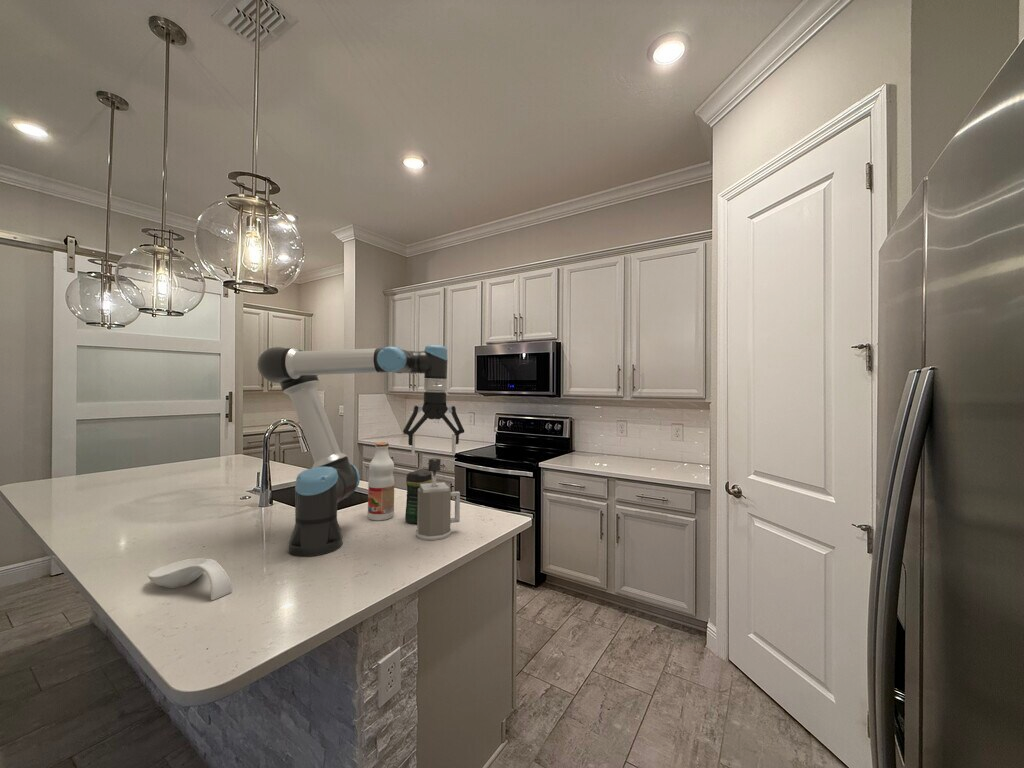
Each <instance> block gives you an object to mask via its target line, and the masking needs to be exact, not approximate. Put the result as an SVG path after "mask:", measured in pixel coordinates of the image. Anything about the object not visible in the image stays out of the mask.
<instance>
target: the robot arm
mask: <svg viewBox="0 0 1024 768" xmlns="http://www.w3.org/2000/svg"><path fill="white" fill-rule="evenodd" d="M448 362H449V361H448V349H447V347H446V346H444V345H437V344H434V345H433V344H432V345H430V344H429V345H426V346H425V347H424V350H422V351H415V350H406V349H402V348H399V347H397V346H386V347H379V348H377V347H375V348H349V349H345V348H344V349H325V350H321V349H320V350H302V349H298V348H295V347H291V348H290V347H289V348H287V347H282V346H274V347H273V346H272V347H271V348H268V349H265V350H264V351H263V352H262V353H261V354H260V355H259V357H258V359H257V369H258V372H259V374H260V375H261V377H262V378H264V380H266V381H268V382H271V383H275V384H279V385H280V388H281V390H282V392H283V394H285V395H287V396H289V398H290V400H291V402H292V406H293V408H294V410H295V411H294V412H295V413H296V417H297V418H298V422H299V425H300V427H301V429H302V432H303V435H304V437H305V440H306V442H307V445H308V448H309V451H310V453H311V456H312V459H313V462H314V463H313V465H312V467H311V468H307V469H305V470H303V471H301V472H300V473H298V474H297V476H296V478H295V484H294V485H295V486H294V491H295V507H294V508H295V516H294V517H295V518H294V521H295V523H294V526H293V529H292V532H291V535H290V538H289V541H288V543H287V545H288V547H287V548H288V550H287V551H288V553H289V554H291V555H293V556H297V557H313V556H320V555H325V554H328V553H331V552H334V551H336V550H338V549H339V548H341V547H342V545H343V538H344V537H343V532H342V530H341V528H340V524H339V521H338V503H340V502H341V501H343V500H344V499H347V498H349V497H350V496H352V494H353V493H354V492H355V491H356V490H357V489H358V488H359V484H360V480H361V476H360V472H359V470H358V468H357V467H356V466H355V464H353V463H351V462H350V460H349V458H348V456H347V454H345V453H343V452H341V450H340V447H339V444H338V442H337V440H336V437H335V434H334V431H333V428H332V426H331V424H330V421H329V417H328V415H327V413H326V410H325V407H324V405H323V402H322V399H321V397H320V394H319V392H318V389H317V388H318V385H319V383H320V381H319V380H320V379H319V376H322V375H324V376H325V375H345V374H346V375H348V374H349V375H350V374H372V373H373V374H374V373H376V374H378V373H380V374H381V373H393V374H424V377H423V379H424V380H423V390H424V393H423V403H422V404H423V405H422V406H419V405H414V406H413V410H412V414H411V415H410V417H409V419H408V421H407V422H406V424H405V426H404V428H403V431H402V433H403V434H405V435H407V436H408V440H407V441H408V443H407V444H408V446H411V451H410V452H411V453H410V454H411V456H412V457H415V456H416V454H415V453H416V435H415V433H416V432H417V431H418V430H419V429H420V427H421V426H422V425H423V424H425V422H426V421H427V420H441V419H442V420H443V421H444V422H445V424H446V425H447V426H448V427H449V429H450V430H451V431H452V432H453V433H454V434H452V435H451V454H452V455H456V451H457V450H456V447H457V445H459V443H460V441H459V438H460V435H461V434H464V433H465V429H464V427H463V425H462V423H461V420H460V418H459V417H458V414H457V410H456V409H457V408H456V406H454V405H450V406H447V384H448V383H447V382H448V381H447V379H448ZM421 411H422V412H423V413H424V414H423V415H422V416H421V417H420V419H419V420H418V421H417V422H416V423H415V424H414V426H413V423H414V421H415V419H416V417H417V415H418V413H421ZM447 411H448V413H451V416H452V418H453V420H454V423H455V424H456V426H457V428H456V426H454V424H453V423H452V422H451V421H450V419H449V418H448V417H447V415H446V413H447ZM411 426H413V427H411ZM410 428H411V429H410Z"/></svg>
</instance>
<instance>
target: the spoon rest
mask: <svg viewBox="0 0 1024 768" xmlns="http://www.w3.org/2000/svg"><path fill="white" fill-rule="evenodd" d="M203 573H206V574H207V576H208V579H209V582H210V600H211V601H216V600H217V599H220V598H221V597H224V596H227V595H228V594H230V593H232V592H233V586H232V582H231V579H230V577H229V575H228V574H227V572H226V570H225V569H224V568H223V567H222V566H221V565H220V564H219V562H218V561H216V560H215V559H212V558H205V557H197V558H188V559H187V558H186V559H182V560H178V561H175V562H174V561H173V562H171V563H169V564H165V565H163V566H160V567H157V568H155V569H153V570H151V571H150V572H149V573H148V575H147V577H148V579H149V580H150V581H151V582H152V583H153V584H155V585H157V586H161V587H165V588H170V589H171V588H172V589H173V588H174V589H175V588H180V587H182V586H187V585H189V584H191V583H194V582H195V580H197V578H199V577H200V576H201V575H202V574H203Z"/></svg>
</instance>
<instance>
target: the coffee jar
mask: <svg viewBox="0 0 1024 768" xmlns="http://www.w3.org/2000/svg"><path fill="white" fill-rule="evenodd" d="M405 480H406V506H405V514H404V515H405V517H404V520H405V522H407V523H409V524H417V507H418V488H420V484H426V483H433V472H432V471H429V470H428V469H425V468H420V469H418V470H414V471H410V472H408V473H406V479H405Z"/></svg>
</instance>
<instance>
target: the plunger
mask: <svg viewBox="0 0 1024 768" xmlns="http://www.w3.org/2000/svg"><path fill="white" fill-rule="evenodd" d="M441 460H442V459H441V458H439V457H438V458H437V457H435V458H428V466H427V467H428V469H427V470H429V471H431V472H432V483H433V484H432V487H436V483H437V472H439V471H441V467H442V466H441V464H442V463H441V462H442V461H441Z"/></svg>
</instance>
